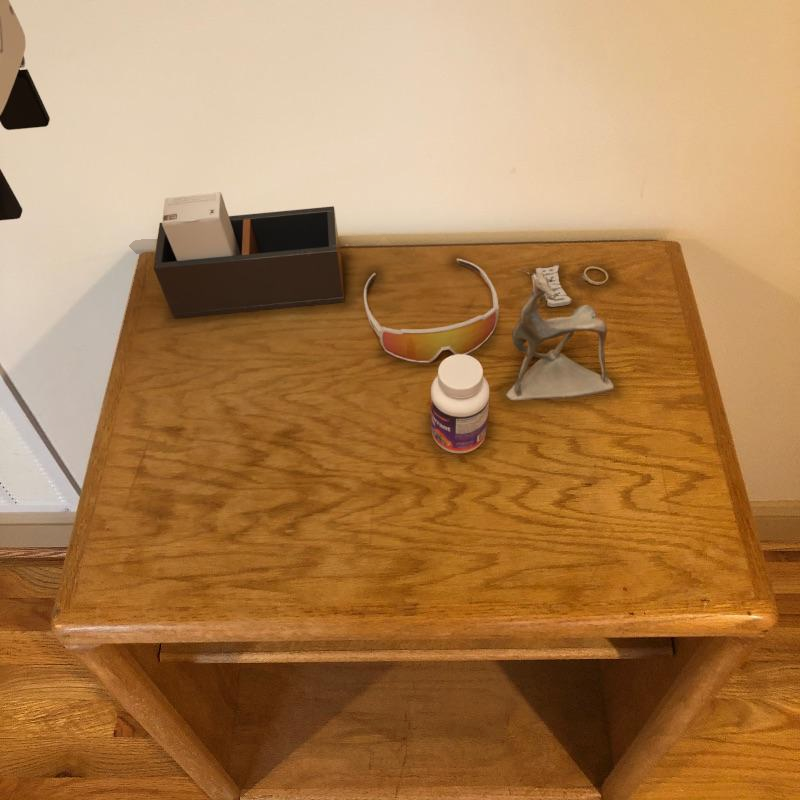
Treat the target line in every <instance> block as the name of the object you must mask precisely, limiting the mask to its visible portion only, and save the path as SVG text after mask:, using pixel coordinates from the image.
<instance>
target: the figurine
mask: <svg viewBox="0 0 800 800" xmlns="http://www.w3.org/2000/svg"><path fill="white" fill-rule="evenodd" d="M531 274H532V276H531V275H530V277H531V283H532V288H531V292H530V295H529V297H528V299H527V300H526V302H525V303H524V305H522V307H521V309H520V313H519V320H518V322H517V323H516V324H515V326H514V327H513V330H512V333H511V341H512V344H513V346H514V348H515V349H516V350H517V351H518V352H521V353H525V356H524V358H523V361H522V363H521V365H520V368H519V371H518V375H517V379H516V382H515V383H514V384H513V385H512V386H511V388H510V389H509V390H508V391H507V392H506V393H505V396H506V397H507V399H509V400H510V401H527V400H528V401H529V400H530V401H531V400H557V399H559V400H560V399H574V398H578V397H579V398H580V397H585V396H592V395H596V394H601V393H607V392H610V391H613V390H614V388H615V386H614V384H613V382H612V380H611V379H610V378H608V375H607V370H606V359H605V350H604V349H605V348H604V346H605V343H606V339H607V333H608V328H607V324H606V323H605V321H604V320H603V319H601V318H600V317H599V318H598V317H597V313H596V310H595V308H594V307H593V306H591V305H590V304H589V305H588V304H583V305H580V306H578V307H576V309H574V310H573V311H572V312H571V314H570V316H560V317H551V318H547V319H543V318H542V315H541V314H540V312H539V310H538V306H537V304H538V299H539V298H540V297H541V295H542V294H543V295H544V293H546V295H547V297H548V298H549V299H550V300H554V299H555V298H556V293H555V292H554V291H553V290H552V289H551V287H550V286H549V284H548V281H547V279H546V278H545V277H544V274H543V273H539V274H536V272H533V273H531ZM582 331H583V332H584V331H586V332H587V331H588V332H594V333H596V334H597V345H598V346H597V347H598V348H597V356H598V360H599V365H600V371H601V373H598V372H595V371H593V370H590V369H588V368H586V367H584V366H583V365H580V364H579V363H577V362H576V361H574V360H572V359H571V358H570V357H568V356H566V355H565V354H564V353H562V352H561V351H562V350H563V348H564V346H565V345H566V344H567V343H568V342H569V340H571V338H572V337H573V335H574V333H575V332H582ZM562 336H563V337H562ZM559 337H562V338H561V340H560V342H559V343H558V344H557V346H556V347H555V348H554V349H551V350H549V351H548V352H546V353H544V352H543V353H541V352H537V350H538V348H539V347H540V346H541V345H542V344H543V343H544V342H546V341H548V340H553V339H557V338H559ZM526 342H527V346H525V343H526ZM533 357H535V358H538V359H539V360H537V361H536V362H535V363H534V364H532V366H530V367H529V364H530V362H531V361H532V359H533ZM528 367H529V368H528Z"/></svg>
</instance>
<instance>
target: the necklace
mask: <svg viewBox="0 0 800 800" xmlns="http://www.w3.org/2000/svg"><path fill="white" fill-rule="evenodd" d="M559 268H560V265H559V264H557V265H553V266H550V267H543V268H542V267H537V268H535V274H539V273H543V274H544V277H545V278H546V279H547V281H548V284H549V286H550V287H551V289H552V290H553V291H554V292H555V293H556V298H555V299H554V300H550V299H549V298H548V297H547V295H546V293H543V294H542V295H540V299H539V301H538V302H537V307H538V306H540V303H541V302H542V300H543V297H544V299H545V301H546V305H547V307H551V308H555V307H561V306H569V305H570V304H571V303H572V298H571V297H570V296H568V295H567V293H566V292H565V290H564V289H563V288H562V285H561V283H560V279H559ZM515 270H520V271H522V272H524V273H526V274H528V275H530V277H531V276H532V274H533V273H531V272H528V271H527V270H525V269H522V268H518V267H515Z"/></svg>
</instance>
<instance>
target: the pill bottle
mask: <svg viewBox="0 0 800 800" xmlns="http://www.w3.org/2000/svg"><path fill="white" fill-rule="evenodd" d="M490 392H491V391H490V386H489V383H488V381H487V379H486V378H485V377H484V369H483V366H482V364H481V363H480V361H479V360H478V359H476V358H475V357H473V356H471V355H469V354H466V355H465V354H456V355H454V354H451V355H450V356H448V357H446V358H444V359H443V360H442V361H441V362H440V364H439V366H438V368H437V375H436V377H435V378H434V379H433V381H432V383H431V386H430V424H431V429H430V430H431V434H432V435H431V436H432V437H433V440H434V441H435V443H436V444H437V445H438V446H439V447H440V448H441V449H442V450H444V451H446V452H449V453H452V454H466V453H470V452H473V451H475V450H477V448H479V447H480V446H481V445H482V444H483V442H484V441H485V439H486V436H487V432H488V431H487V430H488V421H489V420H488V419H489V406H490Z"/></svg>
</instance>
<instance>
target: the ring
mask: <svg viewBox="0 0 800 800" xmlns="http://www.w3.org/2000/svg"><path fill="white" fill-rule="evenodd" d="M592 269H593V270H594V269H595V270H598V271H600V272H603V274H604V275H605V277H606V278H605V280H603V281H595V280H592V279H590V278H589V277H588V275H587V274H586V273H587V272H588V271H589V270H592ZM581 275H582V282H585V281H586V282H587V283H590V284H591V285H596V286H599V285H600V286H601V285H603V284H606V283H607V281H608V280H609V274H608V272H607V271H606V270H605V269H604V268H602V267H599V266H593V265H592V266H587V267H586V268H585V269H584V271H583V273H581Z"/></svg>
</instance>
